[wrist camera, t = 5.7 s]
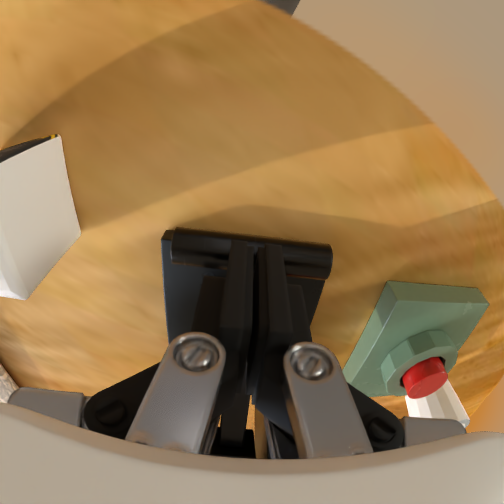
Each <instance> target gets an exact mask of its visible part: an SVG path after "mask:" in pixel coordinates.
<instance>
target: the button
mask: <svg viewBox="0 0 504 504" xmlns="http://www.w3.org/2000/svg"><path fill="white" fill-rule="evenodd" d="M447 378H448V374H447V372H446V370H445V368H444V365H443V363H442V361H441V359H440V358H439V357H430V358H428V359H426V360H423V361H421V362H418V363H417V364H415V365H414V366H412V367H411V368H410V369H408V370H407V371H406V372H405V373H404V375H403V376H402V381H403V383H404V386H405V389H406V392H407V395H408V397H409V398H411V399H419V398H423V397H425V396H428V395H430V394H432V393H434V392H435V391H437V390H438V389H439V388H441V387H442V386H443V385H444V384H445V382H446V381H447Z"/></svg>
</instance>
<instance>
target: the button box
mask: <svg viewBox="0 0 504 504" xmlns="http://www.w3.org/2000/svg"><path fill="white" fill-rule="evenodd" d="M488 306H489V303H488V301H487V300H486V298H485V297H484V296H483V294H482V293H481V292H480V291H479V289H478V288H469V287H456V286H444V285H432V284H420V283H409V282H398V281H387V282H386V285H385V287H384V289H383V291H382V294H381V296H380V298H379V300H378V302H377V305H376V307H375V309H374V311H373V313H372V315H371V317H370V319H369V321H368V323H367V325H366V327H365V329H364V331H363V333H362V335H361V337H360V339H359V341H358V343H357V345H356V347H355V348H354V350H353V352H352V354H351V356H350V358H349V360H348V361H347V363H346V365H345V367H344V368H343V370H342V372H343V374H344V377H345V379H346V382H348V383H349V384H351V385H352V386H353V387H355V388H356V389H358V390H359V391H361V392H362V393H363V394H365V395H366V396H368V397H376V396H388V395H395V396H404V395H407V392H406V389H405V386H404V383H403V381H402V376H403V375H404V373H405V372H406V371H407V370H408V369H410V368H411V367H412V366H414V365H415V364H417V363H418V362H421V361H423V360H426V359H428V358H430V357H439V358H440V359H441V361H442V363H443V365H444V368H445V370H446V372H447V374H448V372H449V371H450V370H451V369H452V367H453V366H454V365H455V364H456V360H457V355H458V350H459V349H460V348H461V346H462V345H463V344H464V342H465V341H466V339H467V338H468V337H469V335H470V334H471V332H472V331H473V329H474V328H475V326H476V325H477V323H478V322H479V320H480V319H481V317H482V316H483V314H484V312H485V311H486V309H487V308H488Z"/></svg>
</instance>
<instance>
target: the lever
mask: <svg viewBox="0 0 504 504" xmlns="http://www.w3.org/2000/svg"><path fill="white" fill-rule="evenodd" d="M231 240H239V241H248V246H254V256H253V278H254V272H255V265H256V259H257V252H258V247H263V248H264V246H265V244H274V245H282V250H283V258H284V265H285V272H286V277H296V278H306V279H317V280H326V279H327V278H328V277H329V275H330V272H331V268H332V262H333V253H332V248H331V246H330V245H329V244H324V243H316V242H308V241H299V240H291V239H283V238H274V237H266V236H257V235H248V234H239V233H230V232H221V231H212V230H203V229H193V228H184V227H176V228H175V230H174V233H173V237H172V242H171V261H172V263H173V264H178V265H186V266H195V267H203V268H212V269H221V270H227V268H228V261H229V254H230V247H231ZM246 363H247V361H246ZM249 401H250V395H246V367H245V372H244V377H243V383H242V388H241V393H240V394H235V398H234V404H233V406H232V407H231V408H230V409H228V410H227V411H225V412H224V413H222V414H221V422H220V427H217V431H216V435H215V438H214V442H213V445H212V449H211V453H210V456H219V457H230V458H245V459H256V451H255V442H254V432H253V430H252V429H246V423H247V416H248V408H249Z"/></svg>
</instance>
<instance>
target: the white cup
mask: <svg viewBox="0 0 504 504" xmlns="http://www.w3.org/2000/svg"><path fill="white" fill-rule="evenodd" d="M405 399H406V403H407V408H408V413H409V417H420V418H437V419H453V420H457V421H458V422H460V423H461V424H462V425H463V426H464V428H466V427H467V425H468V424H469V423H470V419H469V417H468V415H467V413H466V411H465V409H464V407H463V406H462V404H461V402H460V400H459V398H458V396H457V394H456V393H455V391H454V389H453V387H452V385H451V384H450V382H449V380H448V378H447V381H446V382H445V384H444V385H443V386H442V387H441V388H439V389H438V390H437V391H435V392H434V393H432V394H430V395H428V396H425V397H423V398H419V399H411V398H409V397H408V395H406V396H405Z"/></svg>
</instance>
